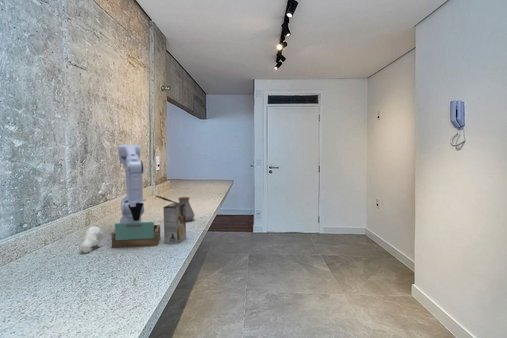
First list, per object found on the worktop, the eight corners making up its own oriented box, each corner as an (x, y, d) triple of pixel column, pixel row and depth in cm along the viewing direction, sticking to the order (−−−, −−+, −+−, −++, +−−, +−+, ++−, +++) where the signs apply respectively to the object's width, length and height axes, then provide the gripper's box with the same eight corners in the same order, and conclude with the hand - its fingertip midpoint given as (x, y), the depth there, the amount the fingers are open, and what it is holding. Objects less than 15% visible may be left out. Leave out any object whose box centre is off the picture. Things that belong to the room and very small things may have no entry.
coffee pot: (193, 217, 186) (193, 192, 185) (195, 222, 176) (195, 195, 174) (155, 220, 180) (154, 194, 179) (155, 224, 169) (154, 197, 168)
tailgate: (116, 239, 132) (115, 223, 131) (154, 237, 134) (153, 221, 134) (115, 240, 130) (114, 224, 130) (153, 238, 133) (153, 222, 132)
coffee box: (173, 237, 146) (172, 202, 145) (186, 238, 145) (185, 203, 143) (163, 243, 137) (163, 206, 136) (177, 244, 136) (176, 207, 134)
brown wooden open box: (118, 239, 142) (118, 226, 142) (160, 237, 146) (160, 224, 145) (112, 248, 131) (111, 233, 130) (157, 245, 134) (157, 231, 133)
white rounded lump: (103, 224, 134) (90, 235, 122) (104, 243, 136) (92, 256, 124) (87, 225, 134) (73, 235, 122) (89, 244, 135) (75, 256, 123)
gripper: (142, 191, 129) (143, 224, 130) (147, 186, 143) (148, 216, 144) (124, 191, 128) (125, 224, 129) (131, 187, 142) (132, 217, 143)
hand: (136, 220), depth 136 cm, fingers closed
